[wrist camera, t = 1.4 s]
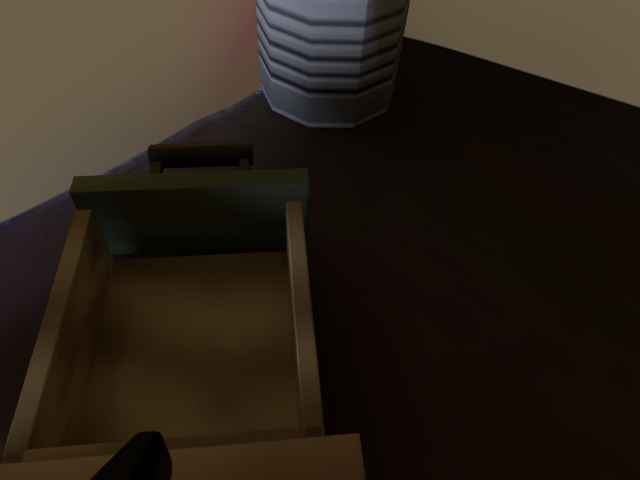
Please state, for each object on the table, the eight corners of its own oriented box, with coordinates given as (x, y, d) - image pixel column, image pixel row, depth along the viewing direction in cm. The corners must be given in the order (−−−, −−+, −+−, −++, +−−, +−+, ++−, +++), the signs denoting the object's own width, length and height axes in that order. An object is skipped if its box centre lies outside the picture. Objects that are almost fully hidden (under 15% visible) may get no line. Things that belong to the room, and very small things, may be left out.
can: (282, 142, 37) (279, -29, 27) (244, 62, 43) (231, -96, 34) (419, 115, 39) (457, -47, 30) (363, 44, 46) (381, -107, 37)
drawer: (115, 189, 32) (90, 124, 28) (300, 182, 33) (301, 119, 29) (40, 509, 20) (-22, 476, 16) (331, 481, 21) (340, 444, 17)
